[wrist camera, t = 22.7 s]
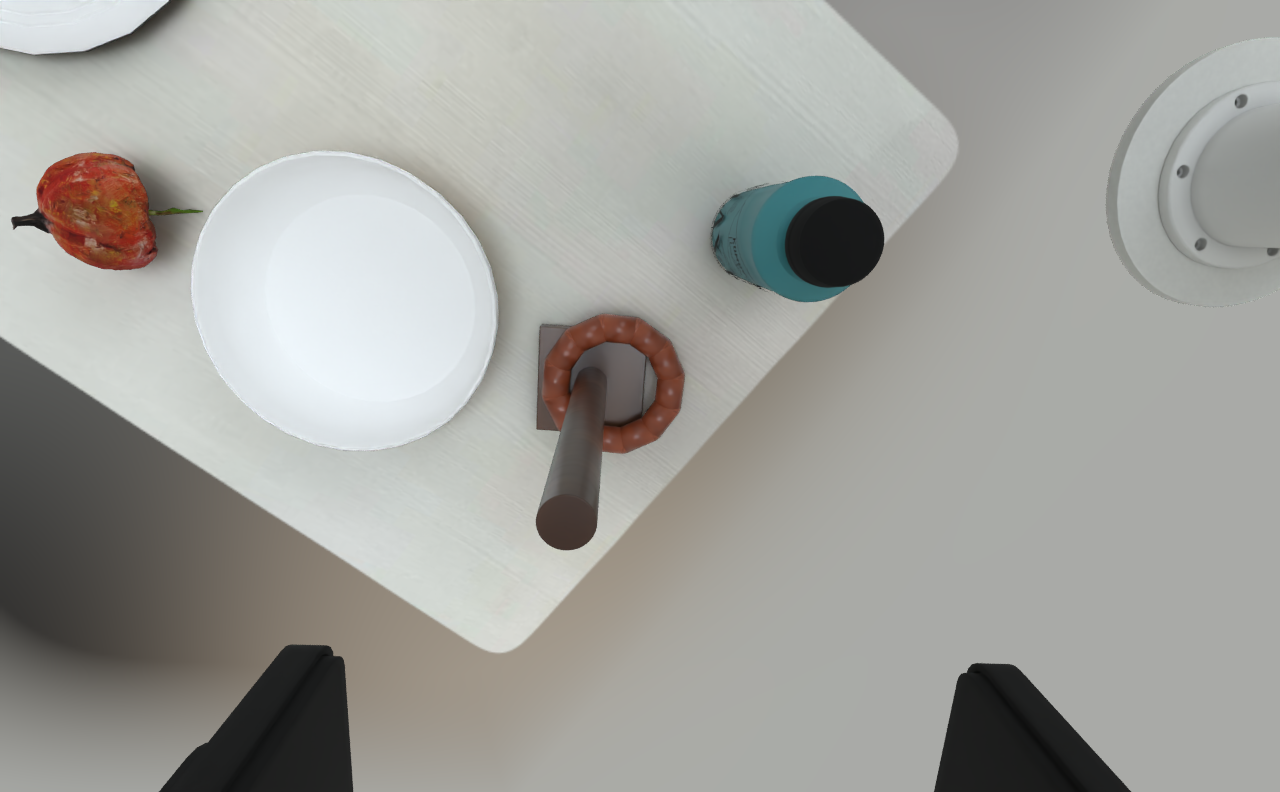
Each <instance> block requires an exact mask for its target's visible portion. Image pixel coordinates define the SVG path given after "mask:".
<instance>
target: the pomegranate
mask: <svg viewBox="0 0 1280 792" xmlns="http://www.w3.org/2000/svg"><path fill="white" fill-rule="evenodd" d="M37 200H38V207H39V208H38V209H37V210H36V211H35V212H34V213H33V214H30V215H27V216H22V217H17V216H16V217H12V219H11V222H12V224H13V230H14V229H15V228H16V227H17V226H35V227H37V228H38V229H40V230H42V231H44V232H47V233H51V234H52V235H53V237H54V238H55V240H56V241H57V243H58V244H59V245H60V246H61V247H62V248H63V249H64V250H65V251H66V252H67V253H68V254H70V255H72V256H74V257H75V258H77V259H79V260H81V261H83V262H85V263H87V264H89V265H92V266H95V267H98V268H101V269H113V270H131V269H137V268H142V267H145V266H146V265H148V264H149V263H150V262H151V261H152V260H153V259H154V258H155V257H156V255H157V251H158V249H157V247H156V242H155V238H156V232H155V227H154V225H153V223H152V222H151V221H150V218H149V216H150V215H157V216H159V215H169V214H179V213H198V212H203V211H200V210H191V209H189V210H180V209H176V208H171V209H168V210H166V211H153V210H148V209H149V203H148V196H147V193H146V190H145V188H144V186H143V184H142V183H141V181H140V179H139V177H138V175H137V174H136V172H135V168H134V165H133V164H131V163H130V162H129V161H128V160H125V159H123V158H121V157H119V156H116V155H112V154H101V153H96V152H93V153H92V152H91V153H81V154H76V155H74V156H71V157H68V158H65V159H63V160H61V161H59V162H56V163H54V164H53V165H52V166H50V167H49V168H48V169H47V170H46V172H45V173H44V175H43V177H42V178H41V180H40V182H39V184H38V186H37Z"/></svg>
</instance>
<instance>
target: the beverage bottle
mask: <svg viewBox="0 0 1280 792" xmlns="http://www.w3.org/2000/svg"><path fill="white" fill-rule="evenodd" d="M782 182H783V181H782ZM763 185H764V184H763ZM765 185H766V184H765ZM760 186H761V185H760ZM760 186H759V187H760ZM756 187H757V186H756ZM759 187H758V189H754V188H753V187H752V190H751V188H750V189H749V188H748V190H750V191H748V190H747V191H746V192H743V193H740V194H737V195H734V196H732V197H731V198H732V199H731V198H730V197H729V198H730V200H729V201H728V202H727V203H726V204H724V205H721V206H723V207H722V208H721V210H720V211H719V213H716V214H718V215H717V217H714V218H716V220H715V222H713V223H714V226H713V227H711V228H713V233H712V234H711V236H712V239H711V240H712V241H713V247H714V251H715V253H713V254H716V256H715V257H717V258H718V260H719V262H720V263H721V265H722V266H723V267H724V268H725V269H726V273H727V272H728V273H729V275H730V274H732V275H734V278H736V277H735V276H737V277H739V278H740V279H741V278H742V279H744V280H747V281H749V282H751V284H752V283H753V285H754V286H755V284H756V286H757V287H758V288H759V287H763V288H766V289H768V290H771V291H774V292H776V293H777V294H779V295H781V296H783V297H785V298H788V299H791V300H795V301H799V302H817V301H822V300H825V299H829V298H831V297H833V296H836V295H838V294H839V293H841V292H842V291H844V290H845V289H847V288H848V287H849V286H850V285H852V284H854V283H856V282H859V281H860V280H862V279H863V278H865V277H866V276H867V275H868V274H869V273H870V272H871V271H872V270H873V269H874V267H875V266H876V264H877V263H878V261H879V259H880V257H881V254H882V251H883V247H884V232H883V227H882V224H881V222H880V220H879V218H878V216H877V215H876V213H875V212H874V211H873V210H872V209H871V208H870V207H869V206H868V205H866V204H865V203H863V201H862V199H861V198H860V197H859V196H858V194H857V193H856V192H855V191H854V190H853V189H851V188H850V187H849V186H847V185H846V184H844V183H842V182H840V181H839V180H836V179H833V178H829V177H825V176H807V177H802V178H798V179H795V180H792V181H790V182H786V183H782V184H775V185H770V186H766V187H762V188H759ZM753 189H754V190H753ZM719 209H720V208H719ZM717 212H718V211H717ZM713 223H712V224H713ZM711 247H712V246H711ZM712 251H713V250H712ZM717 258H716V259H717ZM719 262H718V264H719ZM721 265H720V267H721ZM732 277H733V276H732ZM736 279H738V278H736ZM740 279H738V280H740ZM743 282H745V281H743ZM759 289H762V288H759ZM764 291H765V290H764ZM774 294H775V293H774Z"/></svg>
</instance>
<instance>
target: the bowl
mask: <svg viewBox="0 0 1280 792" xmlns="http://www.w3.org/2000/svg"><path fill="white" fill-rule="evenodd" d="M191 297H192V303H193V310H194V316H195V322H196V325H197V328H198V331H199V334H200V336H201V339H202V342H203V345H204V348H205V350H206V352H207V354H208V356H209V357H210V359H211V361H212V363H213V364H214V366H215V368H216V369H217V371H218V373H219V375H220V376H221V378H222V379H223V380H224V381H225V382H226V384H227V385H228V386H229V387H230V388H231V390H232V391H233V392H234V393H235V394H236V396H237V397H238V398H239V399H240V400H241V401H242V402H243V403H244V404H246V405H247V406H248V407H249V408H250V409H251V410H253V411H254V412H255V413H256V414H257V415H259V416H260V417H261V418H262V419H263V420H265V421H267V422H268V423H270V424H272V425H273V426H275V427H277V428H278V429H280V430H282V431H283V432H285V433H287V434H289V435H291V436H293V437H296V438H299V439H301V440H304V441H307V442H309V443H312V444H314V445H318V446H323V447H328V448H333V449H338V450H343V451H376V450H382V449H388V448H393V447H399V446H402V445H405V444H408V443H410V442H413V441H415V440H418V439H420V438H423V437H426V436H427V435H429V434H430V433H432V432H433V431H435V430H437V429H438V428H440V427H441V426H443V425H444V424H446V423H447V422H449V421H450V420H451V419H452V418H453V417H454V416H455V415H456V414H457V413H458V412H459V411H460V410H461V409H462V408H463V407H464V406H465V405H466V404H467V403H468V401H469V400H470V398H471V397H472V395H473V394H474V392H475V391H476V389H477V388H478V386H479V385H480V383H481V382H482V380H483V377H484V375H485V372H486V370H487V367H488V365H489V362H490V360H491V357H492V354H493V351H494V347H495V341H496V336H497V330H498V324H499V321H498V295H497V291H496V286H495V282H494V278H493V273H492V269H491V266H490V264H489V262H488V259H487V257H486V255H485V253H484V250H483V248H482V246H481V243H480V241H479V240H478V238H477V237H476V235H475V234H474V232H473V231H472V229H471V228H470V227H469V225H468V224H467V222H466V221H465V219H464V218H463V216H462V215H461V214H460V213H459V212H458V211H457V210H456V209H455V208H454V207H453V206H452V205H451V204H450V203H449V202H448V201H447V200H446V199H445V198H444V197H443V196H442V195H441V194H439V193H438V192H437V191H435V190H434V189H432V188H431V187H430V186H428V185H427V184H425V183H424V182H422V181H421V180H419V179H418V178H417V177H415V176H414V175H412V174H411V173H409V172H407V171H405V170H403V169H401V168H398V167H396V166H394V165H392V164H389V163H387V162H385V161H383V160H380V159H377V158H373V157H369V156H365V155H360V154H356V153H352V152H347V151H311V152H305V153H300V154H294V155H289V156H284V157H282V158H280V159H277V160H275V161H273V162H270V163H268V164H265V165H263V166H261V167H258V168H256V169H255V170H254V171H252V172H251V173H250V174H248V175H247V176H245V177H244V178H243V179H241V180H240V181H238V182H237V183H236V184H234V185H233V186H232V187H231V188H230V189H229V191H228V192H227V193H226V194H225V195H224V196H223V198H222V199H221V200H220V201H219V202H218V203H217V204H216V206H215V207H214V208H213V210H212V212H211V214H210V216H209V218H208V219H207V221H206V223H205V225H204V227H203V229H202V231H201V233H200V235H199V239H198V243H197V247H196V250H195V254H194V258H193V261H192V278H191Z"/></svg>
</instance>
